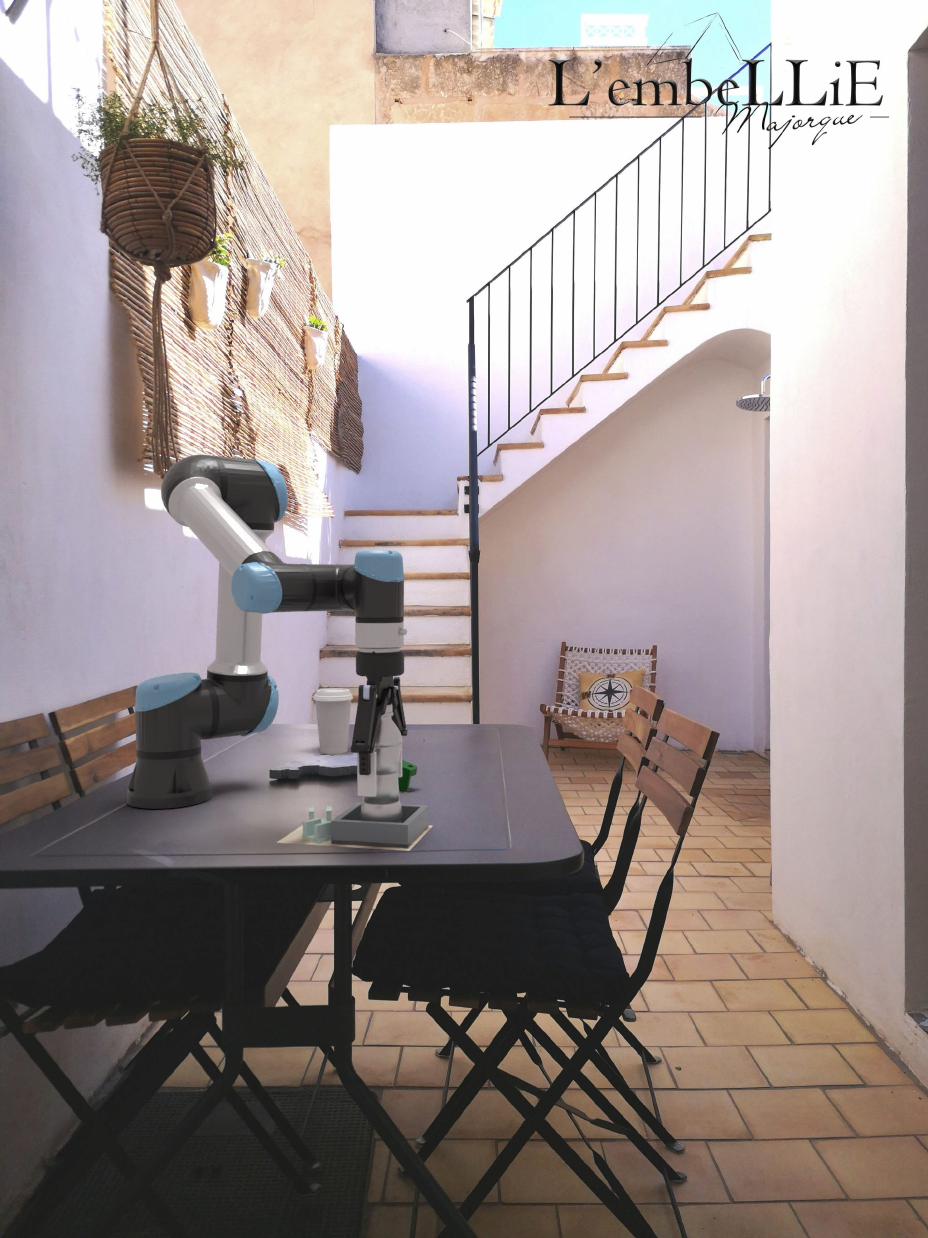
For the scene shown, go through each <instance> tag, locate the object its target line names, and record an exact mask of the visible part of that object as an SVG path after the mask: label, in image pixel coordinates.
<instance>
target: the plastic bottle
mask: <svg viewBox="0 0 928 1238" xmlns="http://www.w3.org/2000/svg"><path fill="white" fill-rule="evenodd" d="M391 716H393V712H392V703H389V705H387V707H386V712H385V714H384V715H382V716H381V720H380V724H379V729H378V733H377V738H376V742H375V747H374V751H373V752H376V785H377V796H375V797H369V796H362V801H361V802H362V805H361V812H360V818H361V821H376V822H394V823H401V820H402V807H401V804H402V802H401V800H400V798H401V797H400V790H399V784H398V771H399V758H400V750H401V743H402V744H403V736H401V732H400V731H399V729H398V727H397V726H396V724H395V723H394V722H393V720H392V718H391Z"/></svg>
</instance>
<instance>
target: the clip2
mask: <svg viewBox="0 0 928 1238" xmlns="http://www.w3.org/2000/svg"><path fill="white" fill-rule="evenodd" d="M321 819H322V818H320V817H315V819H311V820H309V819H308V820H304V821H302V825H303V835H302V839H304V840H308V841H311V842H314V843H318V844H319V843H323V842H326V841H330V840H332V838H331V821H327V822H323V823H321Z"/></svg>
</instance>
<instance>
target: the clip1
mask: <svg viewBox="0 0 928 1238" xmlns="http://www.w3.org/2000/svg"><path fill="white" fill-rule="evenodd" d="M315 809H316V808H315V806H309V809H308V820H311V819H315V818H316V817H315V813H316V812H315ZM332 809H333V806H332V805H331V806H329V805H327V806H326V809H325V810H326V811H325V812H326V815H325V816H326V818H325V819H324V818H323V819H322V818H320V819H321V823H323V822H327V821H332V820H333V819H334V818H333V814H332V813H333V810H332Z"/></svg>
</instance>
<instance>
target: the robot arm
mask: <svg viewBox="0 0 928 1238" xmlns="http://www.w3.org/2000/svg"><path fill="white" fill-rule="evenodd" d="M160 495H161V501H162V504H163V506H164V508H165V510H166V512H167V513H168V514H169V515H170V517H171V518H172V519H173V520H174V521H175V522H176V523H177V524H179V525H181V526H183V527H186V528H189V530H190V531H191V532H192V533H193V534H194V535H195V537H197V539H199V541H200V542H201V543H202V544H203V546H204V547H205V548H206V549H207V550H208V551H209V552H210V553H211V554H212V556H213V557H214V558H215V559H216V560H217V562H218V579H217V580H218V582H217V583H218V585H217V607H216V608H217V609H216V610H217V612H216V635H215V636H216V638H215V642H216V643H215V658H214V660H213V661H212V662H211V663H209V665H208V666H207V667H206V678H203V679H202V677H201V675H200V674H199V673H198V672H182V673H171V674H165V675H160V676H156V677H151V678H148V679H146V680H144V681H142V682H141V683H139V684H138V685H137V686H136V689H135V701H134V702H135V703H134V707H133V709H134V711H135V712H134V715H135V718H134V719H135V752H136V753H135V754H136V758H135V759H136V760H135V765H134V767H133V770H132V774H131V777H130V780H129V784H128V787H127V789H126V790H127V792H126V803H127V805H129V806H130V807H132V808H133V807H134V808H137V809H138V808H139V809H150V810H152V809H153V810H155V809H156V810H157V809H158V810H159V809H175V808H183V807H189V806H194V805H198V804H202V803H204V802H207V801H209V800H210V799H211V798H212V795H213V793H212V789H213V787H212V783H211V779H210V777H209V775H208V772H207V768H206V766H205V763H204V761H203V757H202V741H204V740H205V741H206V740H215V739H221V738H231V737H237V736H241V737H245V736H246V737H247V736H249V735H251V734H253V735H254V734H258V733H261V732H264V731H265V730H267V729H268V728H269V727H270V726H271V725H272V724H273V722H274V720H275V718H276V715H277V712H278V708H279V700H280V697H279V696H280V695H279V690H278V685H277V682H276V680H275V679H274V678H273V676H271V675H268V671H269V669H268V667H267V666H266V665H265V664H264V663H263V662H262V660H261V659H262V658H261V655H262V654H261V653H262V652H261V651H262V631H263V630H262V629H263V615H264V614H265V615H266V614H271V613H292V612H293V613H294V612H295V613H297V612H299V613H300V612H301V613H302V612H342V611H343V612H350V611H351V612H353V611H354V612H355V621H354V624H355V626H354V628H355V629H354V632H355V633H354V635H355V636H354V637H355V638H354V641H355V642H354V645H355V648H356V649H358V650H359V651H357V652H356V653H355V673H356V675H358V676H359V677H366V684H359V685H358V699H357V705H356V706H357V707H356V713H355V718H354V719H355V720H354V721H355V722H354V725H353V726H354V727H353V732H352V733H353V735H352V739H351V746H350V752H351V753H352V754H355V753H356V756H357V757H356V759H357V760H356V762H357V763H356V766H357V767H356V769H357V770H356V771H357V773H356V775H357V779H356V781H357V796H358V797H363V796H369V797H375V796H377V785H376V752H373V751H374V747H375V742H376V738H377V733H378V729H379V724H380V720H381V716H382V715H384V714H385V712H386V707H387V705H389V703H392V712H393V716H391V718H392V720H393V722H394V723H395V724H396V726H397V727H398V729H399V731H400V732H401V736H402V737H407V735H408V729H407V722H406V717H405V710H404V705H403V698H402V691H401V690H402V689H401V677H399V676H402V675H404V674H405V653H404V651H403V650H401V649H402V648H403V647H405V646H404V645H405V636H406V635H407V633H408V630H407V628H404V626H405V624H404V620H405V578H406V577H405V573H404V559H403V555H402V554H401V552H400V551H398V550H388V549H387V550H386V549H385V550H384V549H375V550H373V549H372V550H371V549H369V550H359V551H357V552H356V553H355V556H354V563H353V564H339V563H338V564H327V563H325V564H323V563H320V564H319V563H318V564H315V563H314V564H313V563H312V564H310V563H309V564H308V563H287V562H286V563H285V562H284V561H283V560H282V559H281V558H280V557H279V556H277V555H278V554H276V553H275V552H274V551H273V550H272V549H271V548H270V547H269V546H268V545H267V544H266V542H267V541H266V540H267V538H269V537H270V536H271V535H272V534H273V533H274V532H275V523H277V522H279V521H281V520H282V519H284V517H285V515H286V513H285V512H286V511H287V510H288V504H289V493H288V487H287V483H286V480H285V477H284V475H283V474H282V472H281V470H280V469H279V468H278V467H277V466H276V465H275V464H273V463H271V462H268V461H264V460H258V459H253V458H239V457H228V456H219V455H218V456H217V455H210V454H193V455H192V454H191V455H189V456H187V457H183V458H182V459H180V460H178V461H177V462H175V463H174V464H172V466H171V467H170V468H169V469H168V470H167V472H166V473H165V474H164V477H163V479H162V482H161V488H160ZM404 635H405V636H404ZM402 760H403V742H402V743H401V750H400V758H399V771H398V777H402Z"/></svg>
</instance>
